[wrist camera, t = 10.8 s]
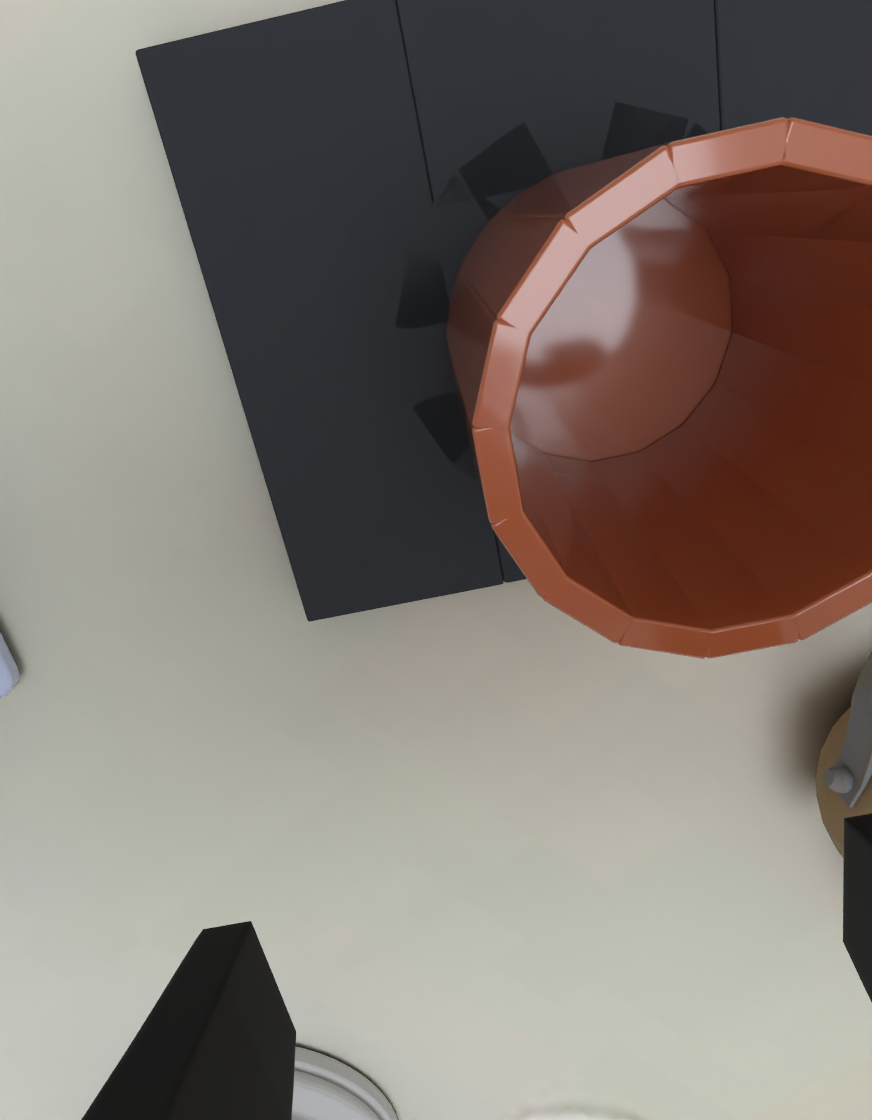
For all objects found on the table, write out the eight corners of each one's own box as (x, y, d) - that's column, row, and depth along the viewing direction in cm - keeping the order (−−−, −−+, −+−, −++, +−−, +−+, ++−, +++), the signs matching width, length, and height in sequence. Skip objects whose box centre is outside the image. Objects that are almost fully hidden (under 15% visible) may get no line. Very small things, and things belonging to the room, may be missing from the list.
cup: (476, 493, 16) (522, 694, 10) (419, 203, 14) (427, 195, 7) (746, 438, 16) (993, 606, 9) (732, 133, 14) (1043, 58, 7)
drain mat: (311, 606, 18) (307, 622, 18) (148, 58, 14) (133, 50, 13) (1020, 467, 17) (1047, 479, 17) (1084, -163, 13) (1123, -186, 12)
